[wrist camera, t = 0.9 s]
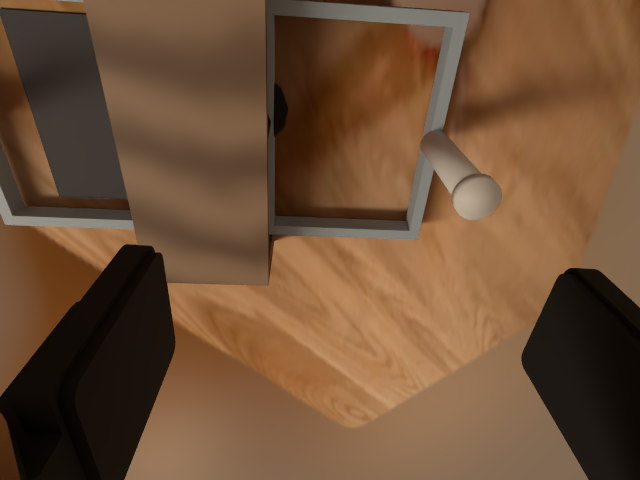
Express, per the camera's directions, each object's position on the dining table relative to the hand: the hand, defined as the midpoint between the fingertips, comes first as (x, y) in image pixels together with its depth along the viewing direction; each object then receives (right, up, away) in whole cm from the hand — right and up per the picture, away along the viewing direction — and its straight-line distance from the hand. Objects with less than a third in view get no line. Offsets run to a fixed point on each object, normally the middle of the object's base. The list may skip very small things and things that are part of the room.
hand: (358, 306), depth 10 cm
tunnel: (-11, +12, +26) cm, 31 cm away
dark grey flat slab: (-23, +13, +26) cm, 36 cm away
